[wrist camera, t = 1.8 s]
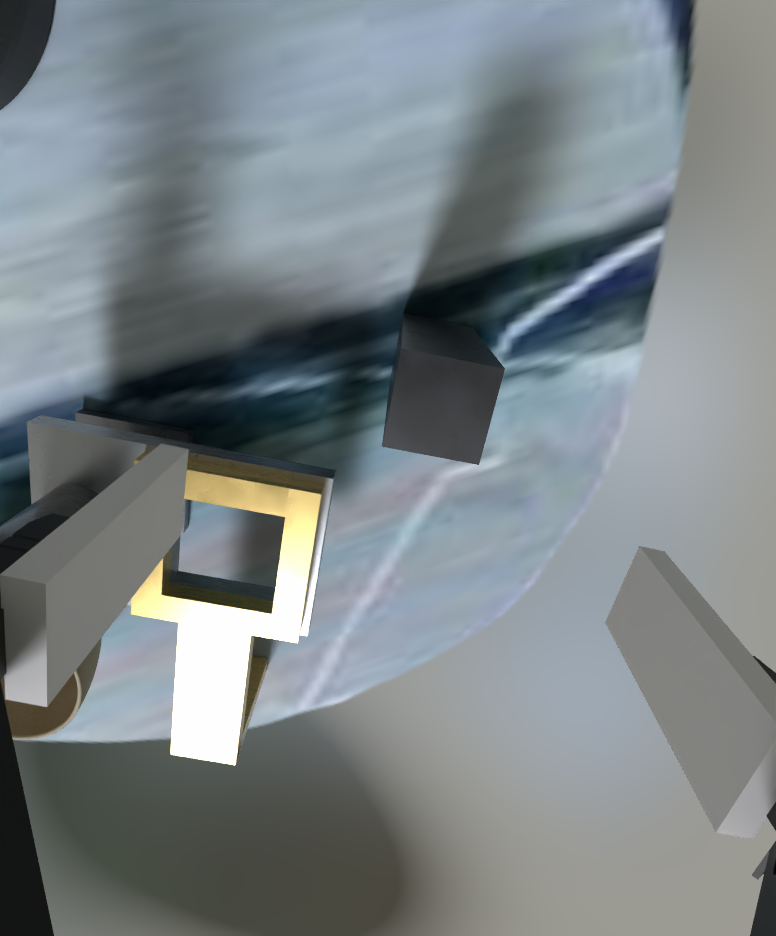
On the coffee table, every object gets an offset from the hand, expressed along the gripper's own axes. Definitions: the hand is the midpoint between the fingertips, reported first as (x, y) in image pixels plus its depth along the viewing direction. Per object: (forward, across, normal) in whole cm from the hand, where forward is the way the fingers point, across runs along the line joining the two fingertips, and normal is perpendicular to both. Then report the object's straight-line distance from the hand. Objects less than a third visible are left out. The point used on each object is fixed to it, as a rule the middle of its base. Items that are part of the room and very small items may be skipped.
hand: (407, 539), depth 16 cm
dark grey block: (+19, +1, +2) cm, 19 cm away
